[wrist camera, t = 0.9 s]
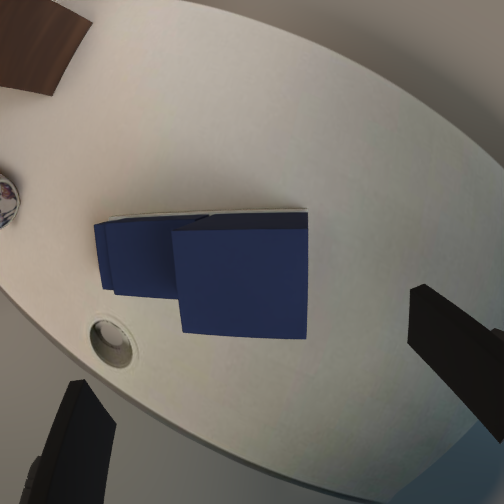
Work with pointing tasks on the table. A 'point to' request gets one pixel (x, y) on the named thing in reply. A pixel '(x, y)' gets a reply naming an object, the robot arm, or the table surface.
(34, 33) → the brown box
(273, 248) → the blue blocks on base
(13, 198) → the pencil case
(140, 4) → the table surface
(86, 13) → the table surface
